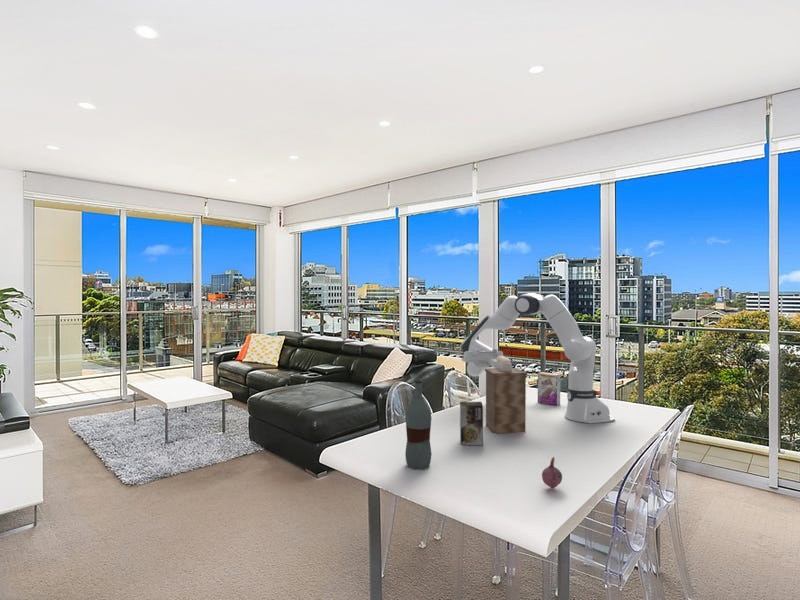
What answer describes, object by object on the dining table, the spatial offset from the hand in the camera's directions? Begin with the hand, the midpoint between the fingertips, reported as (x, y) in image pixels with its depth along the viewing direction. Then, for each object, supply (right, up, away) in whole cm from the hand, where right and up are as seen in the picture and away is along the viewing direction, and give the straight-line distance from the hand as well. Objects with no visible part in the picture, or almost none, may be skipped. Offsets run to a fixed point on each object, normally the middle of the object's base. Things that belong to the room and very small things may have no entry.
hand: (486, 350), depth 235 cm
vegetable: (+3, -33, -90) cm, 96 cm away
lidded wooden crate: (+3, -32, -27) cm, 42 cm away
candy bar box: (+38, -32, +21) cm, 54 cm away
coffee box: (-15, -33, -46) cm, 58 cm away
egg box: (+2, -6, -22) cm, 22 cm away
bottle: (-37, -33, -71) cm, 87 cm away
